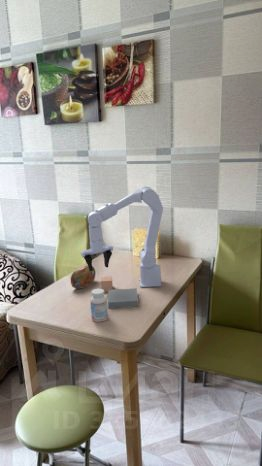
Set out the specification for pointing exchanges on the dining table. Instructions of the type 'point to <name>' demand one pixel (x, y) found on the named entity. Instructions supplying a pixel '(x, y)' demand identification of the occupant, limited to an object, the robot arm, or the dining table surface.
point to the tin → (82, 277)
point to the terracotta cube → (106, 283)
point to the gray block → (122, 298)
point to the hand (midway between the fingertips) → (98, 268)
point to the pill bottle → (98, 305)
